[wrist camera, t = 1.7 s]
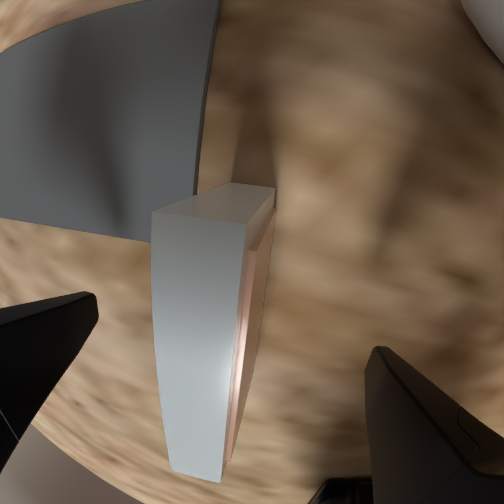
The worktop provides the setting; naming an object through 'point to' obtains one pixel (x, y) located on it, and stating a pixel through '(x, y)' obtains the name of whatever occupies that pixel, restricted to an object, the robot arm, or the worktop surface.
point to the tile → (208, 317)
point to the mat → (106, 117)
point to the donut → (488, 22)
